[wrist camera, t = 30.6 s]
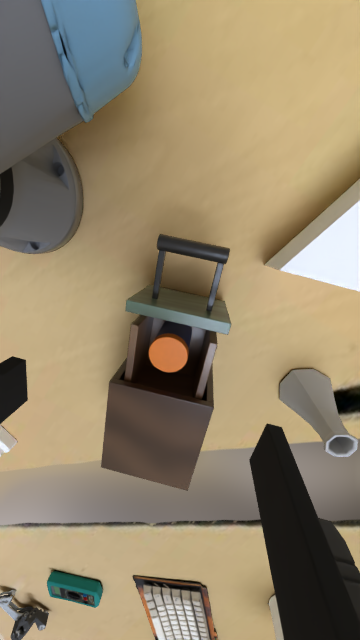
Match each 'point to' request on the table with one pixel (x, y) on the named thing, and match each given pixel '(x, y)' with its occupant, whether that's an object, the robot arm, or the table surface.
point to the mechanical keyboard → (176, 609)
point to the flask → (318, 409)
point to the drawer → (181, 309)
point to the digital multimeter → (74, 588)
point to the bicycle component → (22, 616)
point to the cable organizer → (6, 441)
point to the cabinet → (154, 431)
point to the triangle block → (327, 245)
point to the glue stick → (171, 347)
